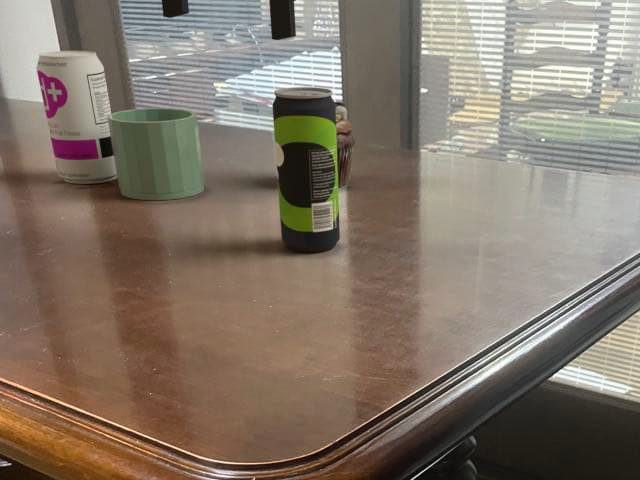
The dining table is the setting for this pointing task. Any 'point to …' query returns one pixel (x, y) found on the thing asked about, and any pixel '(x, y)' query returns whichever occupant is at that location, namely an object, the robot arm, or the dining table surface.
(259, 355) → the dining table surface
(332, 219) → the beverage can
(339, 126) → the cupcake
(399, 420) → the dining table surface
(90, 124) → the supplement can
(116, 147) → the green faceted cup
